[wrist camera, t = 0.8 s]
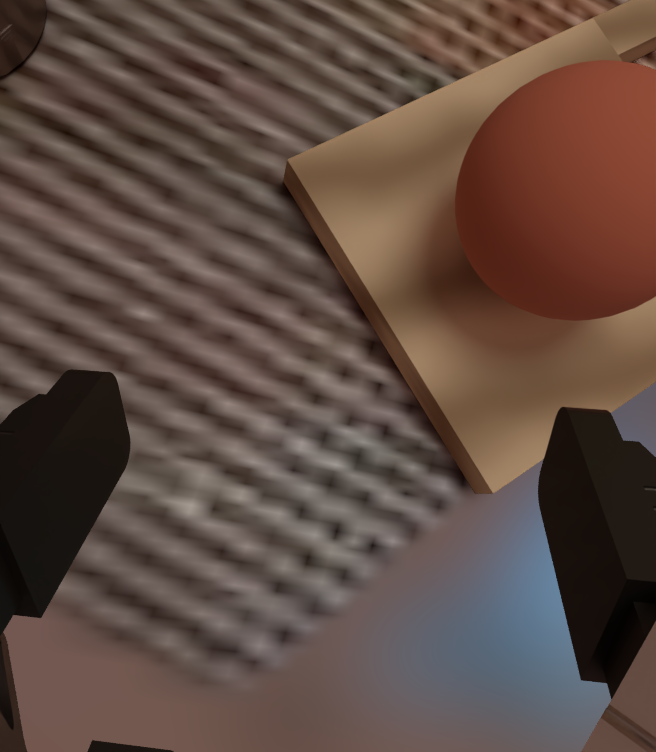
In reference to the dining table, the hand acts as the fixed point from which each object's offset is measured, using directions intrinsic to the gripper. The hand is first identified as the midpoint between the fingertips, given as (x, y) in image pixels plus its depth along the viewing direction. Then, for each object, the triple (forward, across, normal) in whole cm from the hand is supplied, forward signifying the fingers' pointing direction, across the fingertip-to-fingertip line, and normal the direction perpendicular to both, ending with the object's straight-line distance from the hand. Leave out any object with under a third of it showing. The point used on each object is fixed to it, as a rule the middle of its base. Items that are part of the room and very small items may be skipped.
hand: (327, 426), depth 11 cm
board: (+27, -15, +3) cm, 31 cm away
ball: (+17, -8, +1) cm, 19 cm away
